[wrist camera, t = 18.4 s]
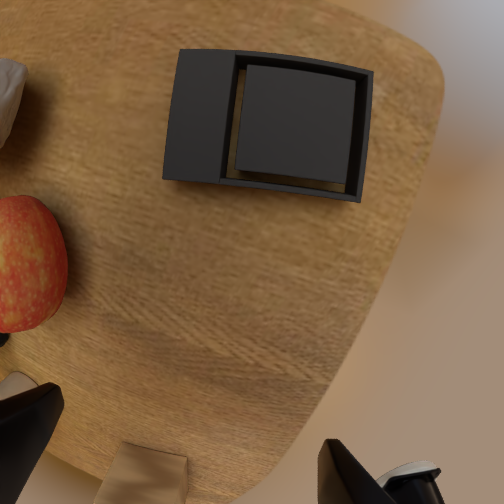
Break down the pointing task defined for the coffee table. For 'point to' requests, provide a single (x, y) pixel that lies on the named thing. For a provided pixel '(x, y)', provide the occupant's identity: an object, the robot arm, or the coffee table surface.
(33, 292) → the apple
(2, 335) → the film camera
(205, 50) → the black tray
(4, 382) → the candle
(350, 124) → the black block
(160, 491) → the beige wooden block
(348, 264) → the coffee table surface
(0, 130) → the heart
